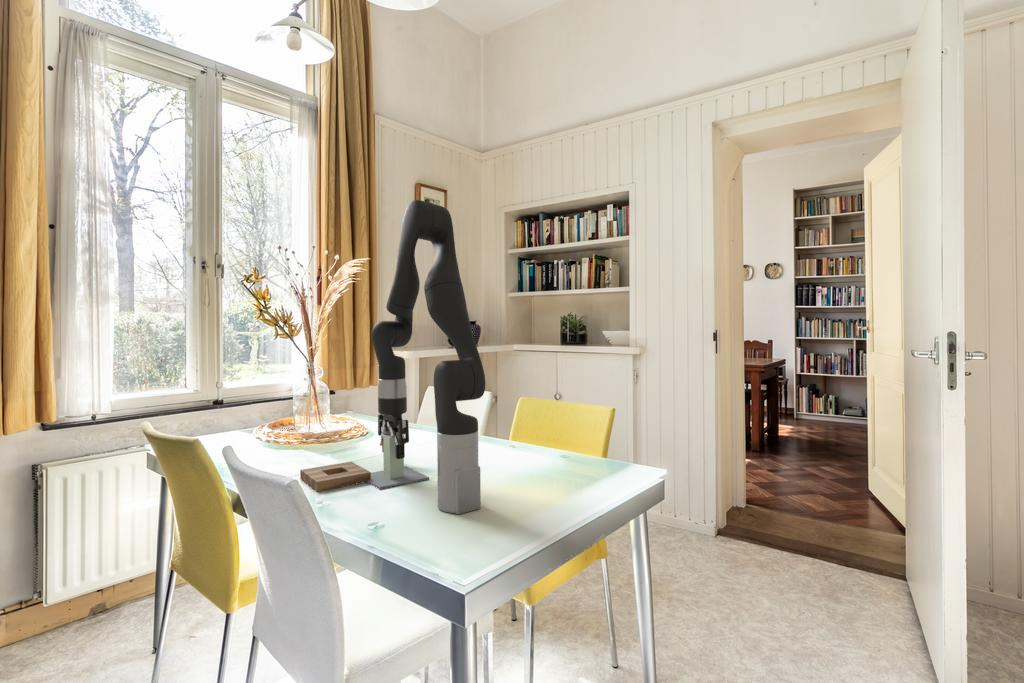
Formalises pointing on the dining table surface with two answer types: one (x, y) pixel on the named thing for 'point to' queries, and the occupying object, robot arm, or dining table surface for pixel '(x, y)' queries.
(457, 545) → the dining table surface
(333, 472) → the walnut pocket block
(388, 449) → the sage peg
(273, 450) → the dining table surface
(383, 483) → the slate mat
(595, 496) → the dining table surface
